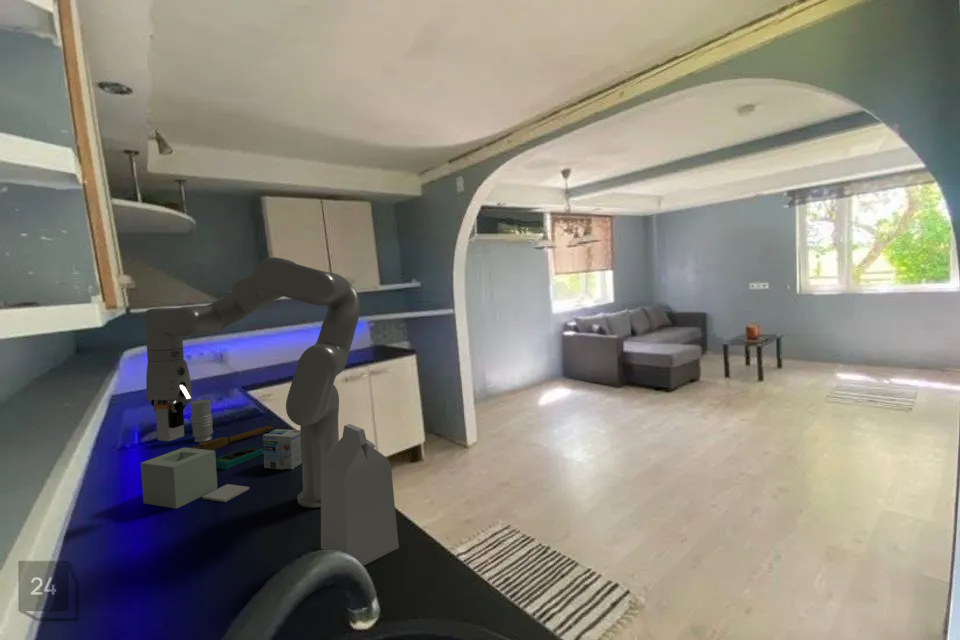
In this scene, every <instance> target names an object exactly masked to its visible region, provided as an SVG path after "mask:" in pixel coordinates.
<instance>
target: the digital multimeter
mask: <svg viewBox="0 0 960 640" xmlns="http://www.w3.org/2000/svg"><path fill="white" fill-rule="evenodd" d="M262 454H264V451H263V447H262V448H261V447H259V446H255V445H253V446H252V445H250V446H245V447H243V448H241V449H238V450H236V451H233V452H230V453H227V454H224V455H222V456H218V457H216V469H219V470H229V469H230V468H234V467H235V466H238V465H241V464H243V463H246V462H248V461H251V460H253V459H252V458H254V459H256V458H258V457H257V456H259V455H262ZM262 456H263V455H262ZM255 457H256V458H255ZM259 457H260V456H259ZM250 459H251V460H250Z"/></svg>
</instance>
